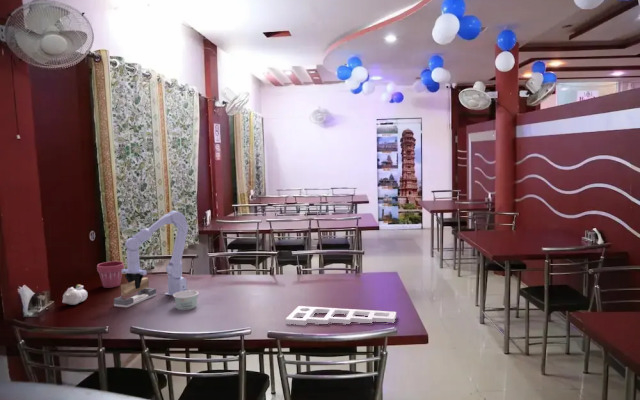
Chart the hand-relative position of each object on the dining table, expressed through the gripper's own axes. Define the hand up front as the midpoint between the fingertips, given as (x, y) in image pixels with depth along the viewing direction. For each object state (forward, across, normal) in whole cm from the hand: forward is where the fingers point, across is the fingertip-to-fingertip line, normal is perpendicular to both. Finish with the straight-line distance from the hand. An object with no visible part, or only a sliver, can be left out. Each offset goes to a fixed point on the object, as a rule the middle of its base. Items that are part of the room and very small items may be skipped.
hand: (135, 287), depth 240 cm
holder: (+7, +110, +3) cm, 110 cm away
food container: (+7, +32, -1) cm, 33 cm away
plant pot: (+7, -35, +19) cm, 40 cm away
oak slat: (+2, 0, 0) cm, 2 cm away
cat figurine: (+7, -27, -13) cm, 31 cm away
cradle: (+7, 0, 0) cm, 7 cm away
